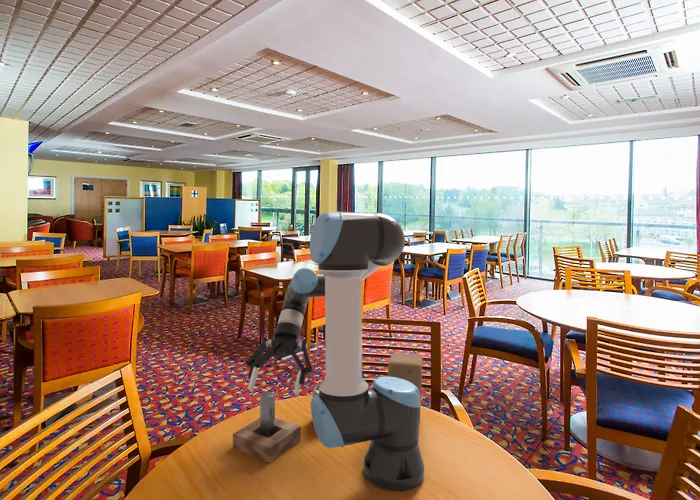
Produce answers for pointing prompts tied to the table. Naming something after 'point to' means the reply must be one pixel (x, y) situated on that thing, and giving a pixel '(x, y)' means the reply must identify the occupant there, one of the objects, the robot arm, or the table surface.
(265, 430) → the peg
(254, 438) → the square block with hole
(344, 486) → the table surface
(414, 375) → the wooden block
